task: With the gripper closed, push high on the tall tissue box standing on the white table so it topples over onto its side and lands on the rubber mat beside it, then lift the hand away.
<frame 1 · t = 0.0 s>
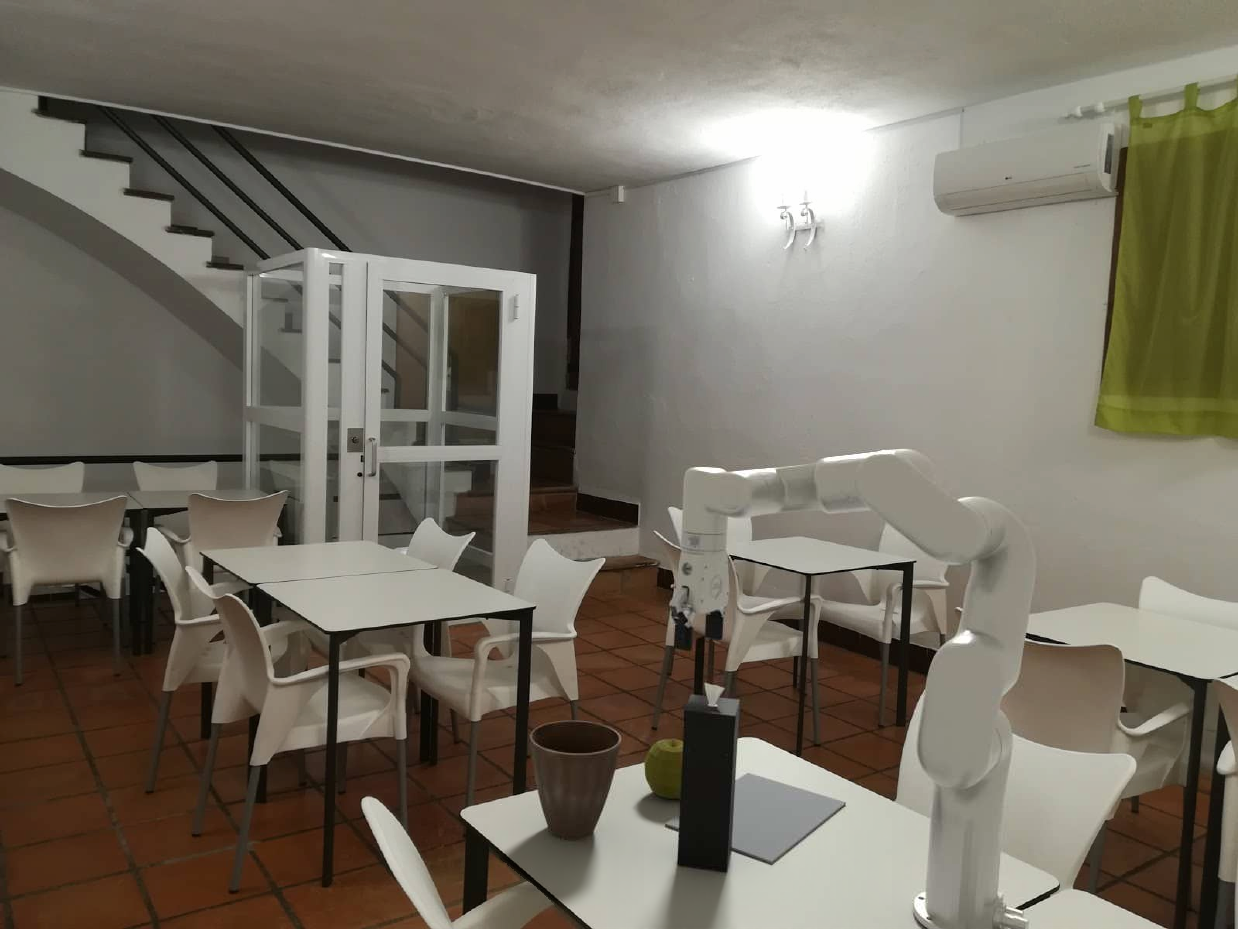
hand: (698, 643, 161), 31 cm above the table, tool pointing down, fingers open, 9 cm apart
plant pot: (571, 831, 159), on the table
apple: (670, 796, 175), on the table
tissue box: (704, 859, 152), on the table
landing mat: (758, 814, 168), on the table
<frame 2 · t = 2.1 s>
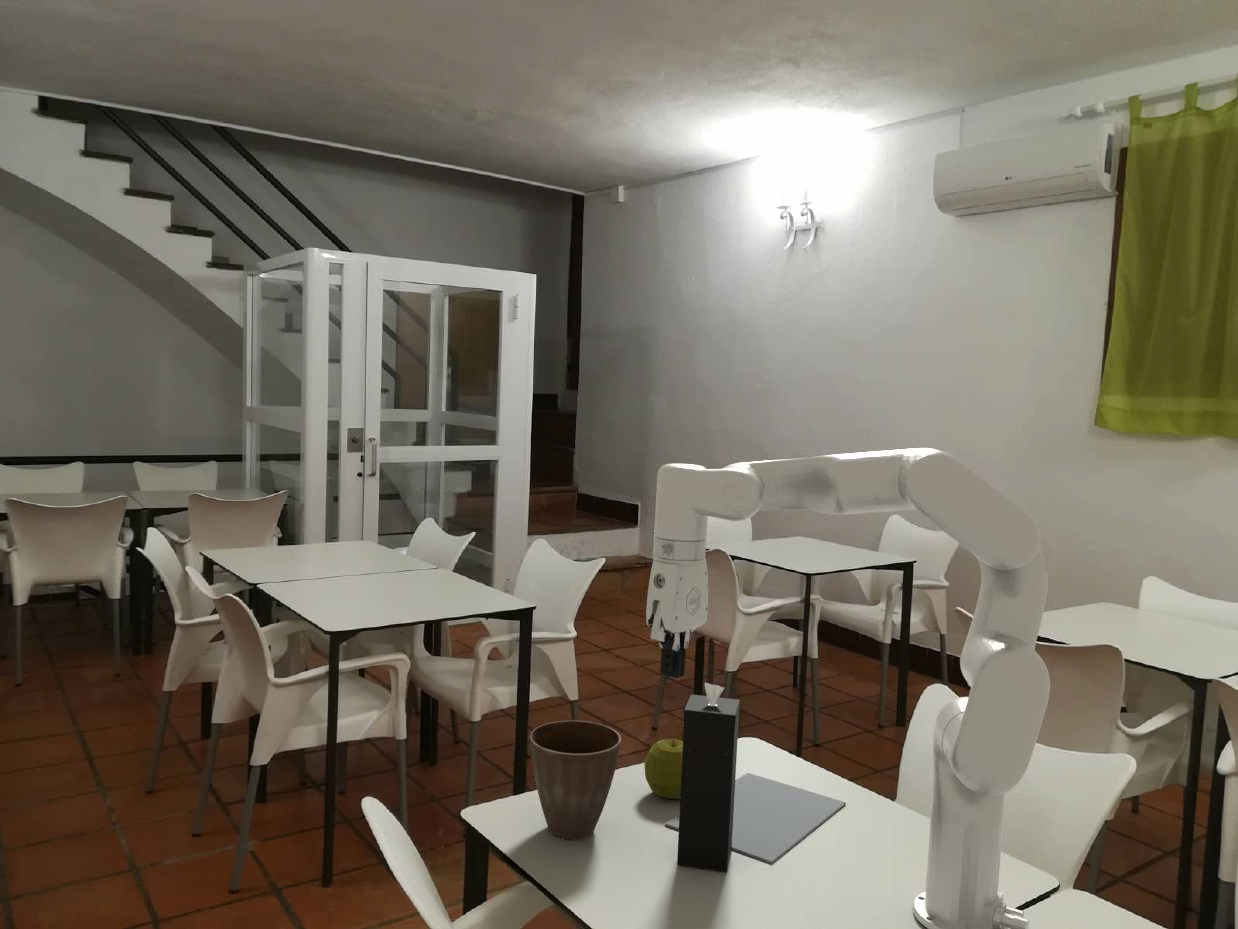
hand: (672, 674, 140), 32 cm above the table, tool pointing down, fingers closed
nothing on the table moved.
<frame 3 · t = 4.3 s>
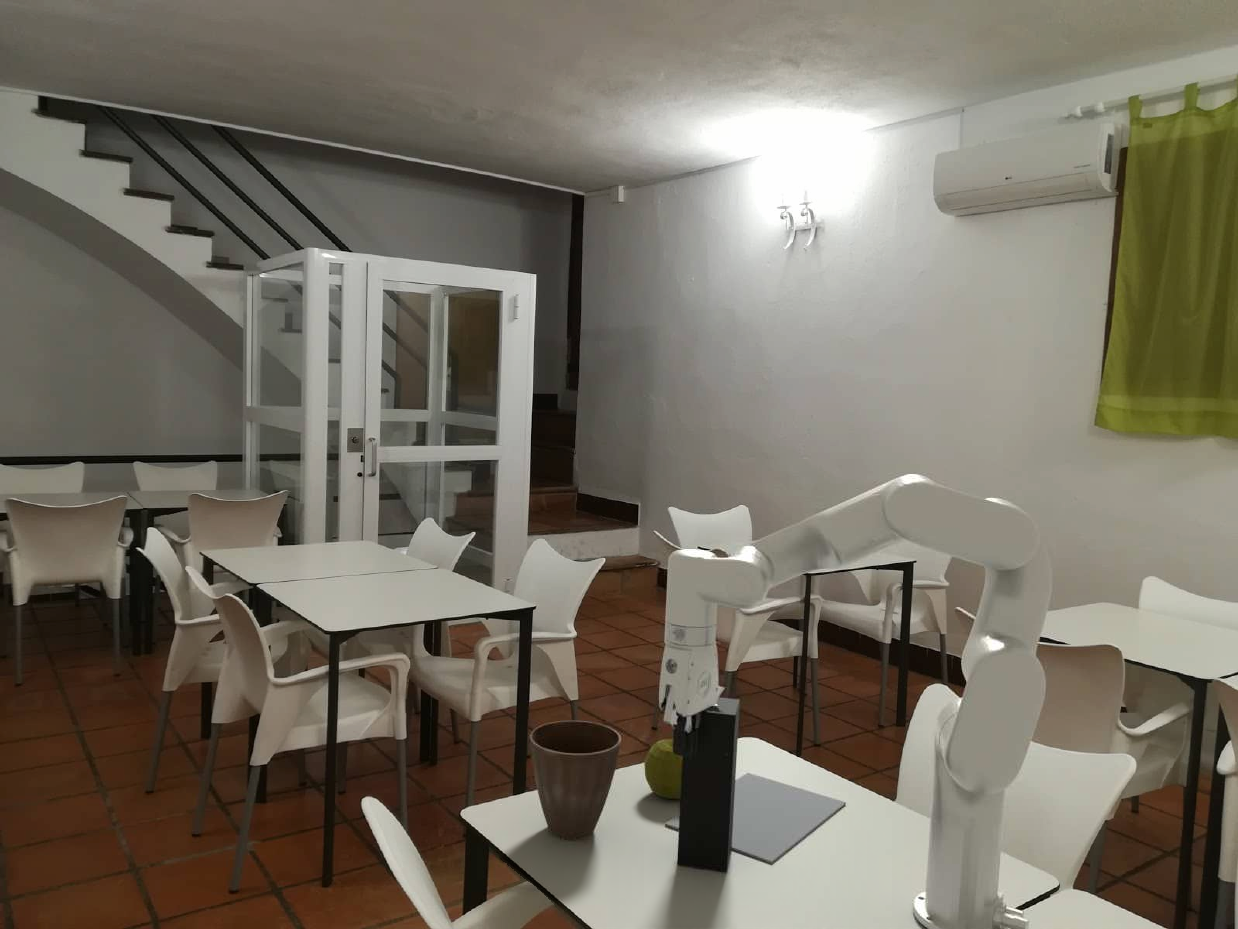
hand: (684, 754, 144), 19 cm above the table, tool pointing down, fingers closed
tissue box: (704, 859, 152), on the table, touching gripper
everything else where it was.
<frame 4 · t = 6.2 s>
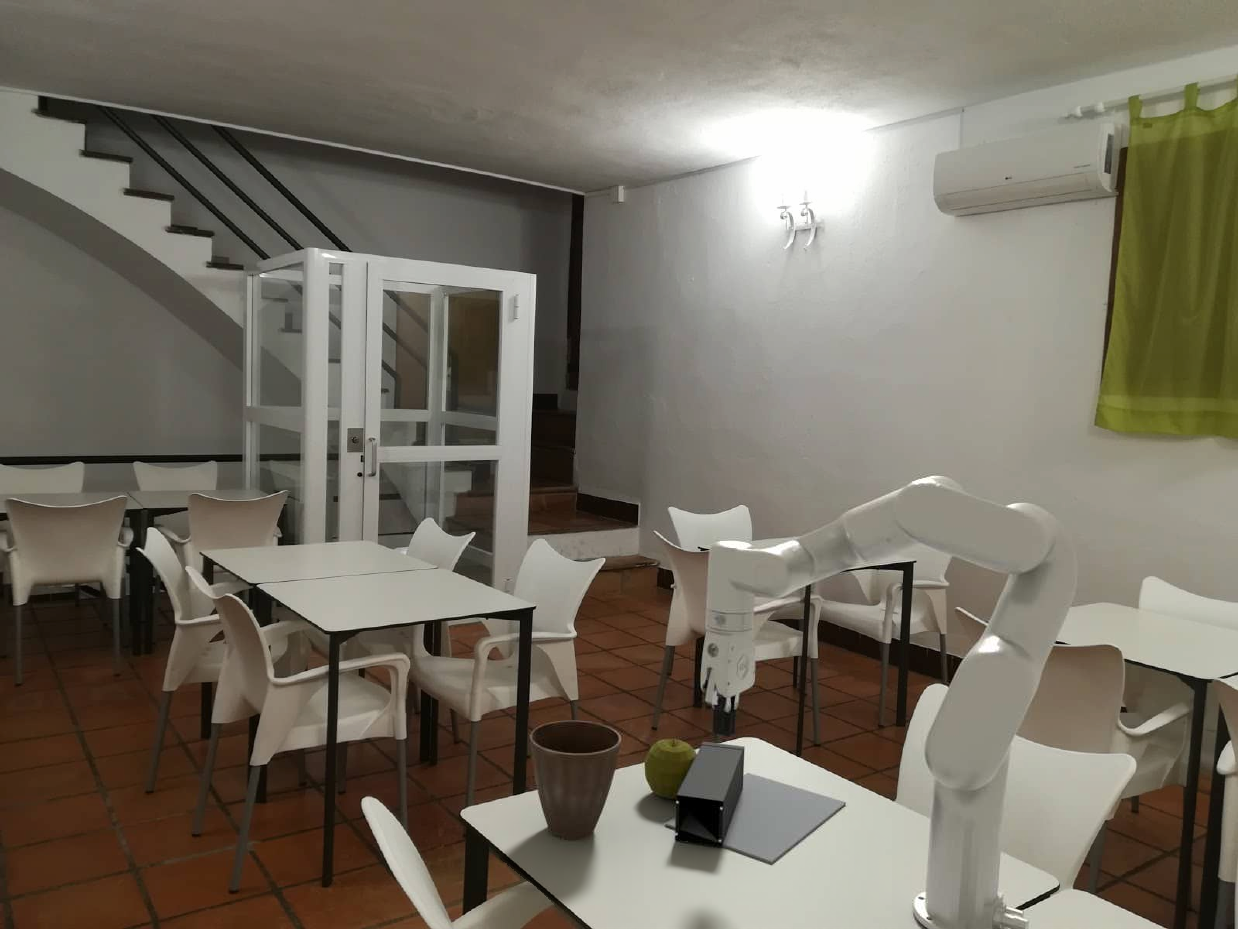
hand: (723, 733, 153), 19 cm above the table, tool pointing down, fingers closed
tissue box: (698, 822, 155), point 4 cm above the table, touching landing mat
everything else where it was.
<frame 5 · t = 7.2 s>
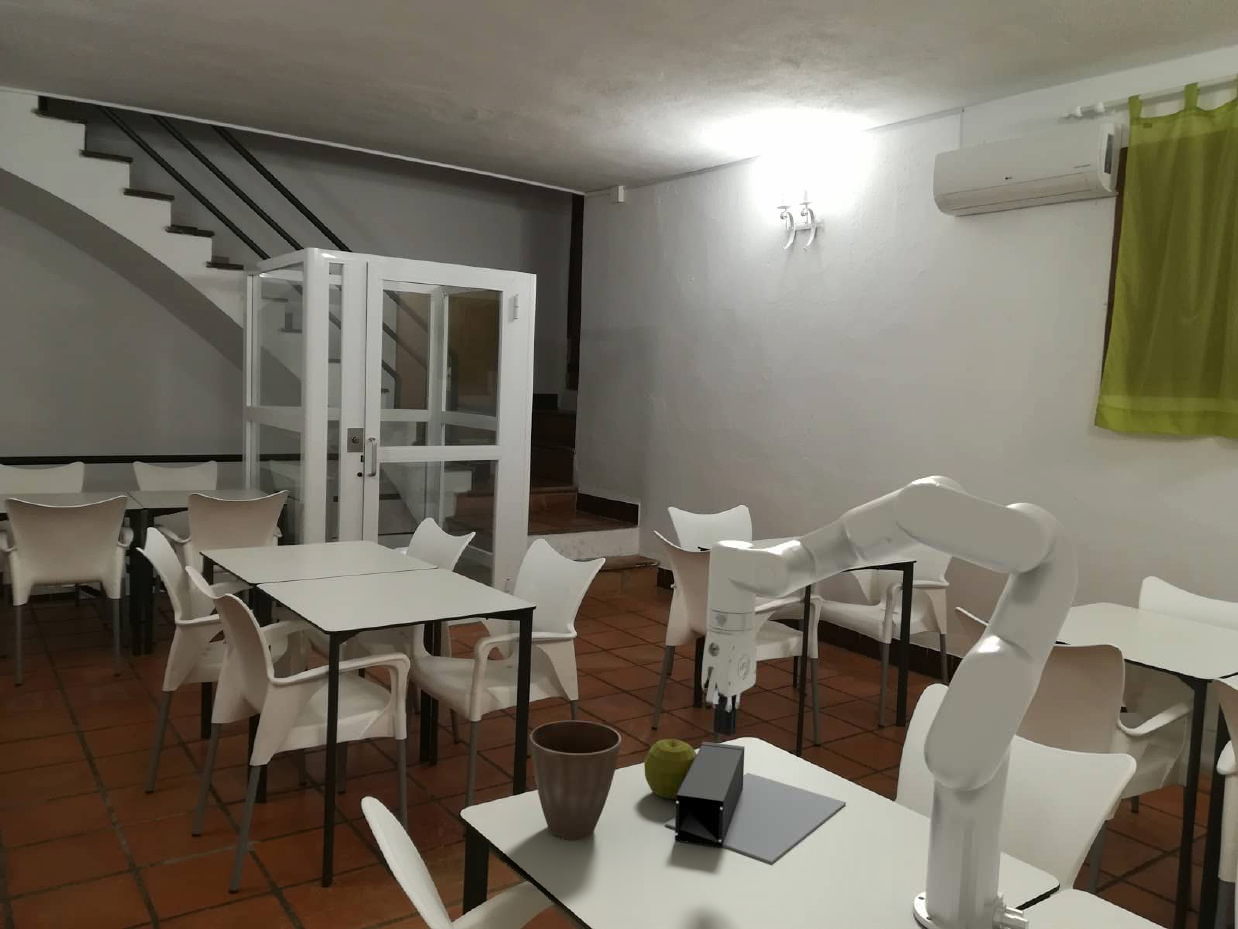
hand: (724, 732, 154), 19 cm above the table, tool pointing down, fingers closed
nothing on the table moved.
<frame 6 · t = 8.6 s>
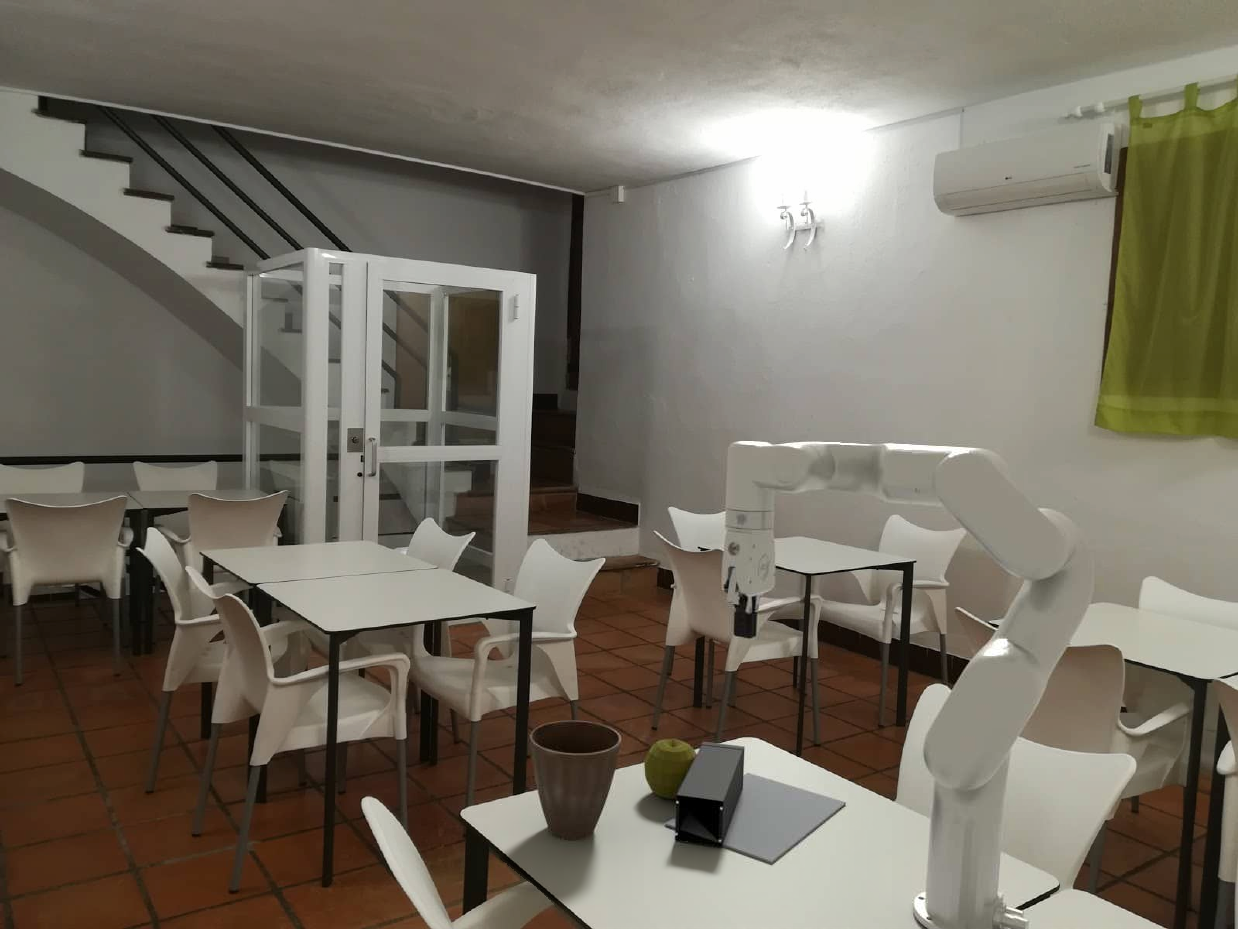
hand: (744, 636, 151), 35 cm above the table, tool pointing down, fingers closed
nothing on the table moved.
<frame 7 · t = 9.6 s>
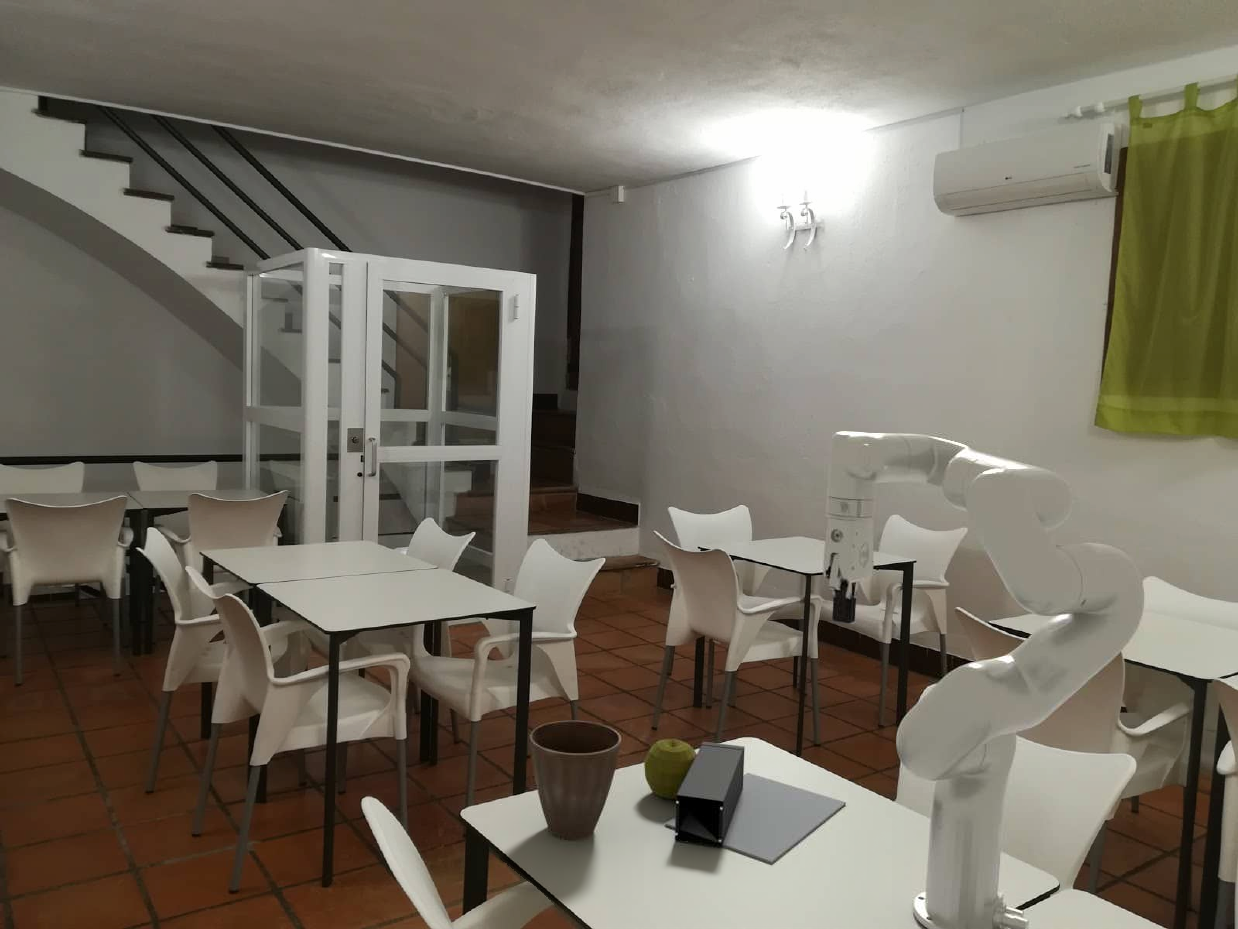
hand: (843, 621, 156), 37 cm above the table, tool pointing down, fingers closed
nothing on the table moved.
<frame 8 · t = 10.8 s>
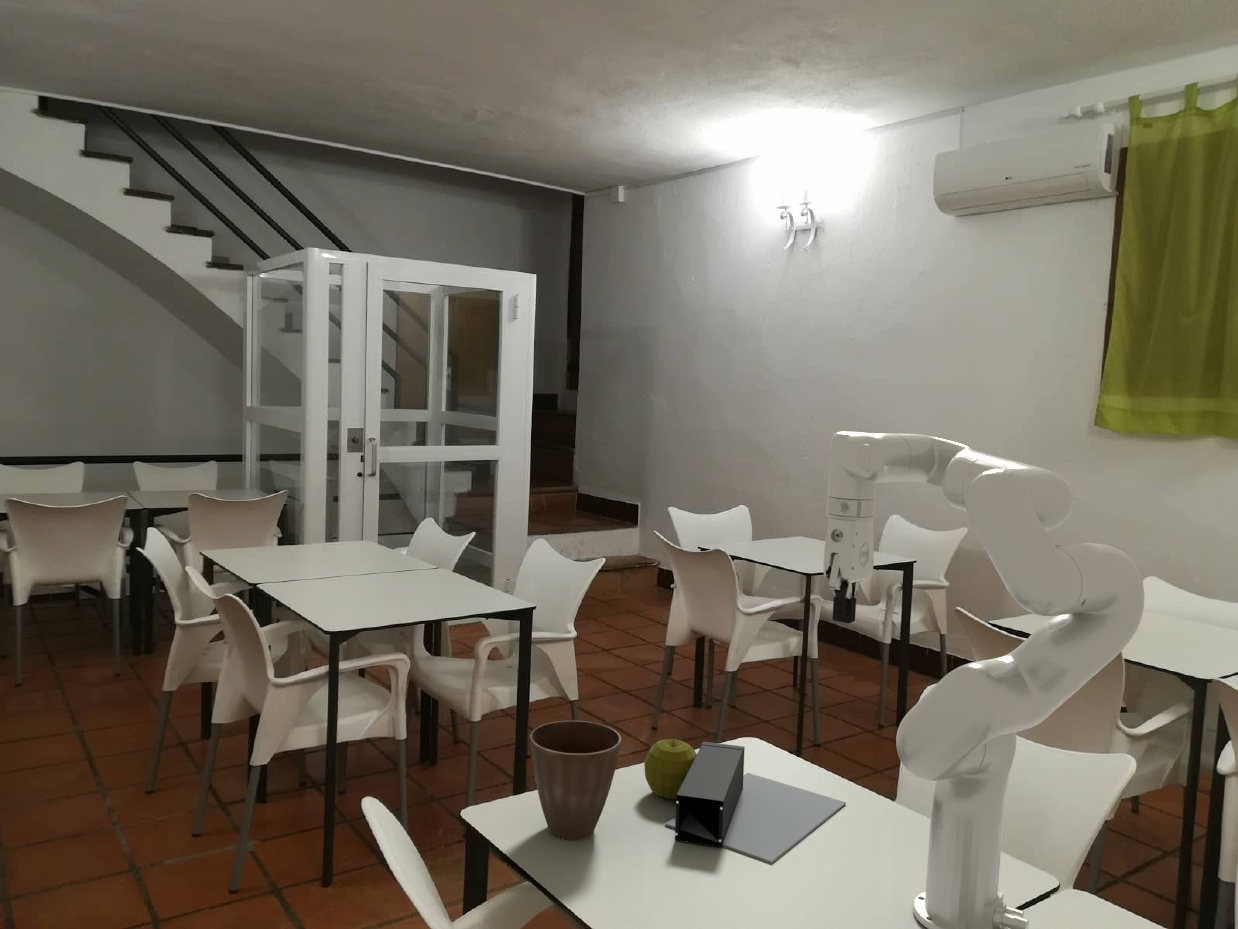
hand: (843, 621, 156), 37 cm above the table, tool pointing down, fingers closed
nothing on the table moved.
at the end: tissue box tilted 89°; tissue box touching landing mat; the gripper is holding nothing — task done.
